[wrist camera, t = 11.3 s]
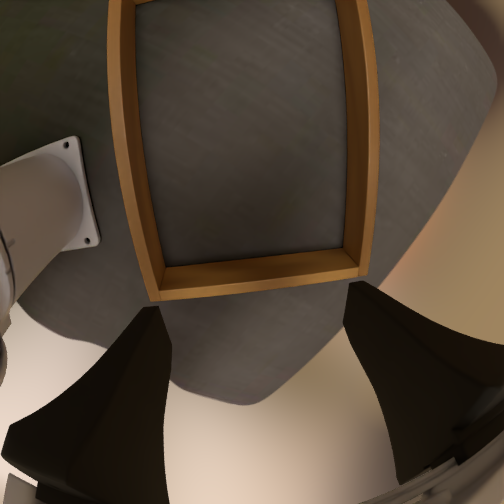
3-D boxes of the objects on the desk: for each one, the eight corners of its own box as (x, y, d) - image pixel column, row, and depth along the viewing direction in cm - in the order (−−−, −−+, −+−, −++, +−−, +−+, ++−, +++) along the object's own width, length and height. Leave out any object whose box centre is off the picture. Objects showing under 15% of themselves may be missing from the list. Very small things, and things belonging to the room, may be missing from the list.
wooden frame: (158, 277, 19) (150, 302, 17) (125, 0, 10) (110, -17, 7) (350, 255, 20) (367, 275, 18) (342, -9, 11) (361, -24, 8)
